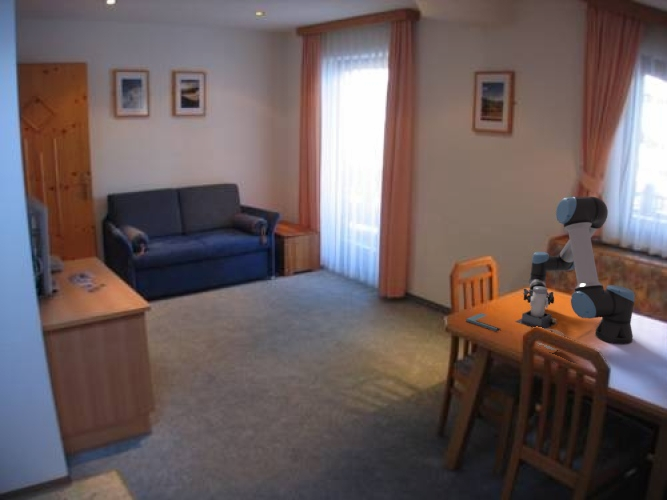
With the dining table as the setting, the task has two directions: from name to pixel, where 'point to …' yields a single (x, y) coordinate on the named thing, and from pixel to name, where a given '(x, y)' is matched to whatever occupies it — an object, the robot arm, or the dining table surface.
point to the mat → (474, 318)
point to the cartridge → (538, 301)
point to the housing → (537, 320)
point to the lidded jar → (554, 332)
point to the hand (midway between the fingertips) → (539, 304)
